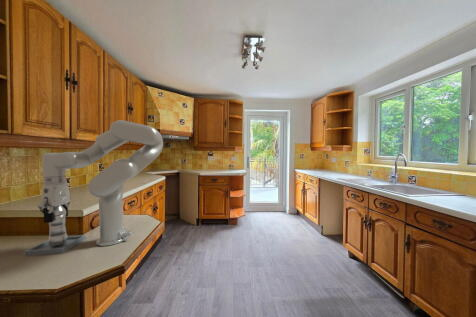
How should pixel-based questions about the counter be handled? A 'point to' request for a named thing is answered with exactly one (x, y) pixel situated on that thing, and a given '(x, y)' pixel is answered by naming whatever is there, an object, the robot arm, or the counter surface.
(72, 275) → the counter surface
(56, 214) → the plastic bottle
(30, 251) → the slate tray
